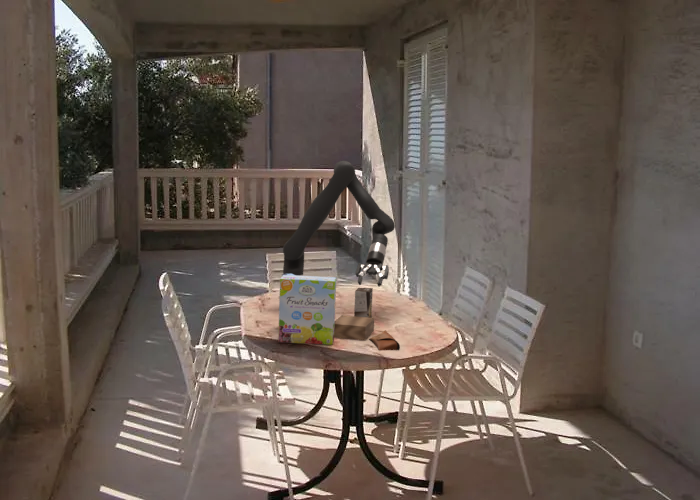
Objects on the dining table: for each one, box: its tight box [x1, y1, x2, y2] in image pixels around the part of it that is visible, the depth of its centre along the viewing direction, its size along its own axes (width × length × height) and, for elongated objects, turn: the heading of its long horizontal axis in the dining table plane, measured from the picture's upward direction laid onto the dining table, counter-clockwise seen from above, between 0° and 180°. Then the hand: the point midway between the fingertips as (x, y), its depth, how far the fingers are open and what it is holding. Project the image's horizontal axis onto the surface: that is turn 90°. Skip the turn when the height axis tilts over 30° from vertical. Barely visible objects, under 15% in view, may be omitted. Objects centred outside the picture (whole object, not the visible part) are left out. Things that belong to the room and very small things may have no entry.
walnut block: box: [334, 315, 375, 341], centre depth 325 cm, size 14×16×6 cm
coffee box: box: [353, 287, 374, 318], centre depth 338 cm, size 9×6×16 cm
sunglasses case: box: [368, 330, 401, 351], centre depth 311 cm, size 18×7×7 cm
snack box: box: [277, 275, 337, 346], centre depth 309 cm, size 22×9×26 cm, turn 88°
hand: (369, 284), depth 345 cm, fingers open, 8 cm apart
